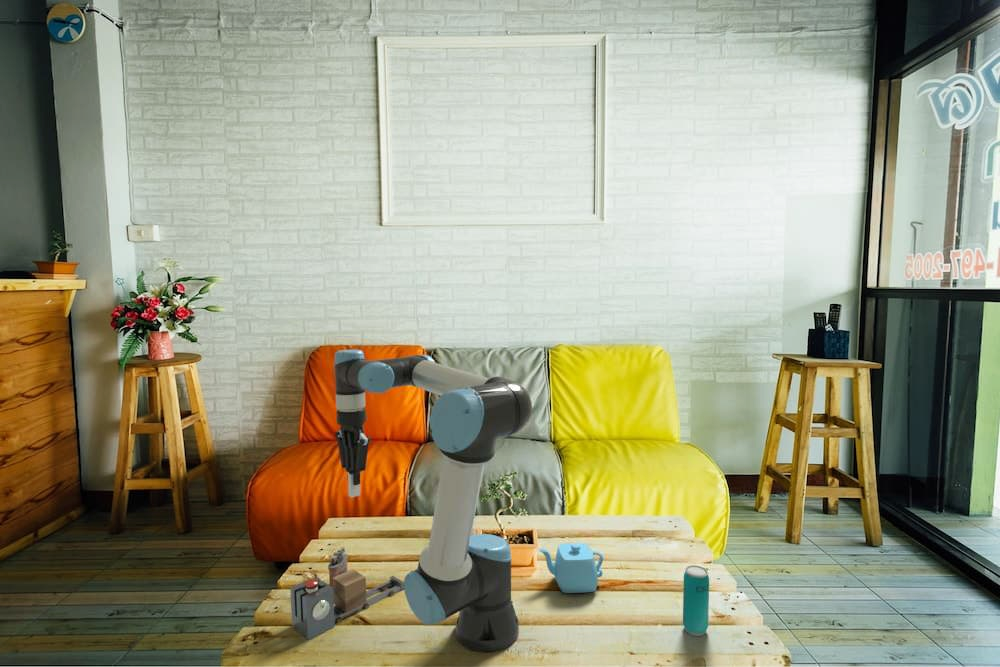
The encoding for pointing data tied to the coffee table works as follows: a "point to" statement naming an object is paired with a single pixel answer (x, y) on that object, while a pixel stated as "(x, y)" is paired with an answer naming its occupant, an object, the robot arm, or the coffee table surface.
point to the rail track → (383, 587)
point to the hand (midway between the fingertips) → (354, 495)
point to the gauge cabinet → (312, 609)
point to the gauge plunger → (311, 585)
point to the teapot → (575, 567)
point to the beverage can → (696, 600)
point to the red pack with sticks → (337, 564)
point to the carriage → (349, 590)
